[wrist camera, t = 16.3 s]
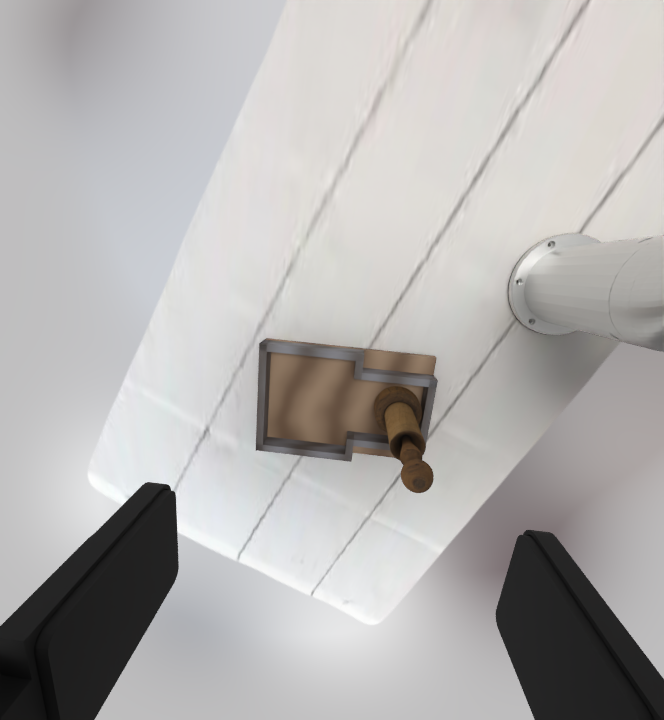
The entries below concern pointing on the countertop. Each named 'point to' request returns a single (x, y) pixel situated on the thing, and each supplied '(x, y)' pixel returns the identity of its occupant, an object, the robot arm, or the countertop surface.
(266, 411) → the keyhole board
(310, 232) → the countertop surface
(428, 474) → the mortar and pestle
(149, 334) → the countertop surface
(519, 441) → the countertop surface
